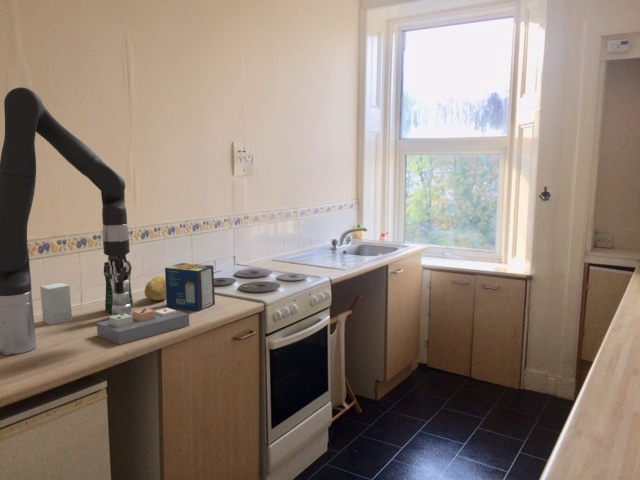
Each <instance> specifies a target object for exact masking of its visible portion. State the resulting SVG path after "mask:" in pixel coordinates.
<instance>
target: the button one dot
mask: <svg viewBox="0 0 640 480" xmlns="http://www.w3.org/2000/svg"><path fill="white" fill-rule="evenodd" d="M169 308H170V307H167V308H166V309H161V310H157V311H155V314H157V315H160V316H167V315H171V314H175V313H176V310H177V309H174V310H172V309H173V308H171V309H169Z"/></svg>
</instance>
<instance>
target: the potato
mask: <svg viewBox="0 0 640 480" xmlns="http://www.w3.org/2000/svg"><path fill="white" fill-rule="evenodd" d="M144 295H145V297H146V298H147V299H148V300H151V301H163V300H164V299H166V279H165V275H159V276H155V277H153V278H152V279H150V280H149V281H147V284H146V285H145V287H144Z"/></svg>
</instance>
